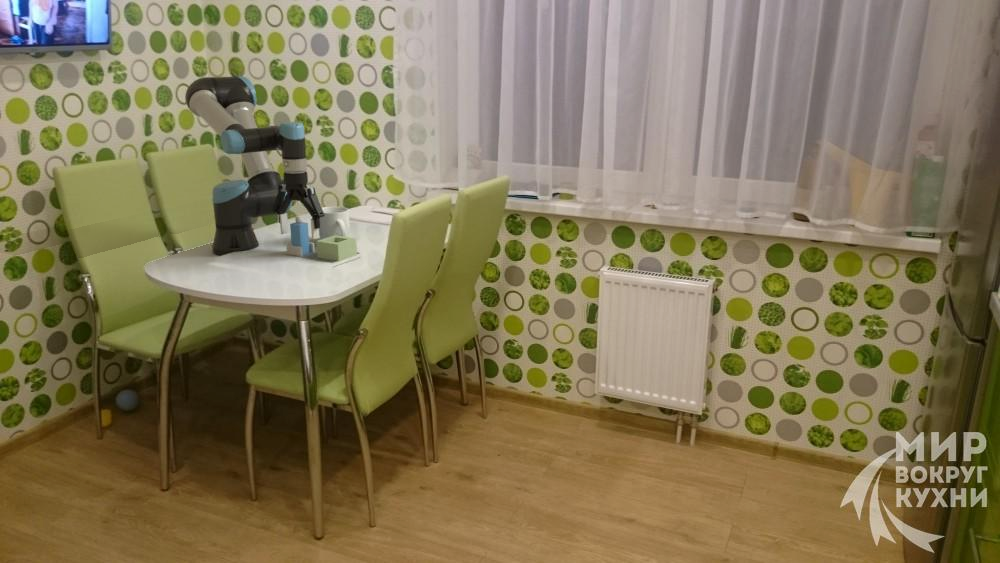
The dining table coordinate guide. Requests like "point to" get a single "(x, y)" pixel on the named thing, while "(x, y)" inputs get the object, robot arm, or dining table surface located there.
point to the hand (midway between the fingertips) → (300, 235)
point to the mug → (334, 222)
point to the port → (336, 248)
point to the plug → (300, 235)
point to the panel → (312, 254)
